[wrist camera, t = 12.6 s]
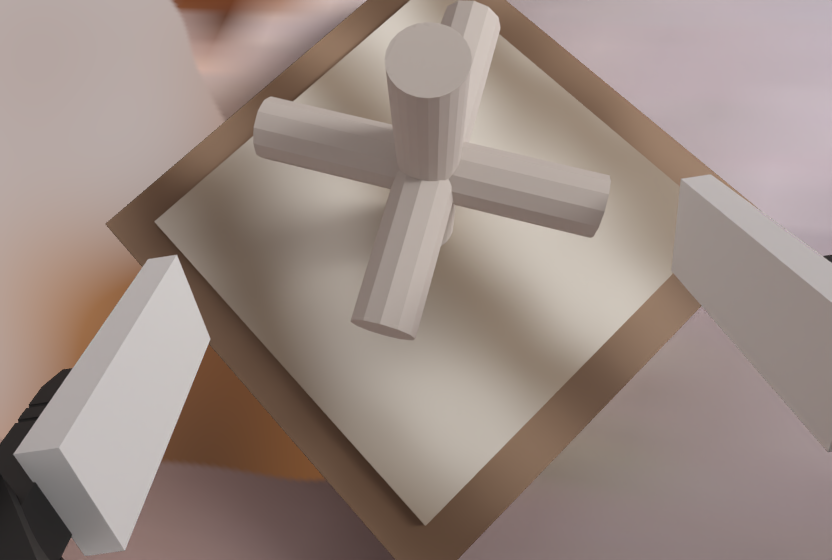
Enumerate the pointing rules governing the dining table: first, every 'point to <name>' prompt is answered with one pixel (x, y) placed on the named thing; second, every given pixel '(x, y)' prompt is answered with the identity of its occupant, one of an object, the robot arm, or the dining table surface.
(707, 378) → the dining table surface
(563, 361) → the stand
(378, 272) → the pipe connector
